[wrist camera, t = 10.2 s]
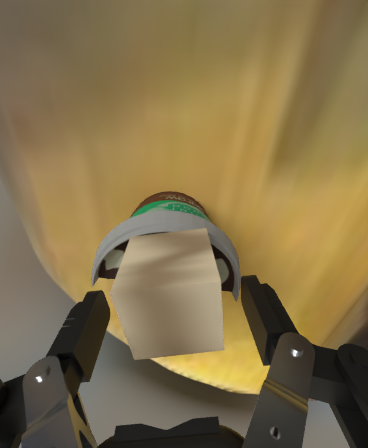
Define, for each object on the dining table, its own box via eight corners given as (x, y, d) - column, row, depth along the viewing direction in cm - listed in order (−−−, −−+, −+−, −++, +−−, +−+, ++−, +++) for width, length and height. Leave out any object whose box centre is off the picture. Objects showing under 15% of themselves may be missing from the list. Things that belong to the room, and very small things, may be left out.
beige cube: (206, 227, 14) (220, 280, 9) (210, 285, 16) (224, 350, 12) (130, 236, 14) (109, 293, 9) (145, 292, 16) (134, 359, 12)
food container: (234, 190, 23) (270, 236, 14) (219, 238, 26) (243, 302, 17) (119, 171, 22) (80, 209, 13) (117, 224, 25) (84, 285, 16)
